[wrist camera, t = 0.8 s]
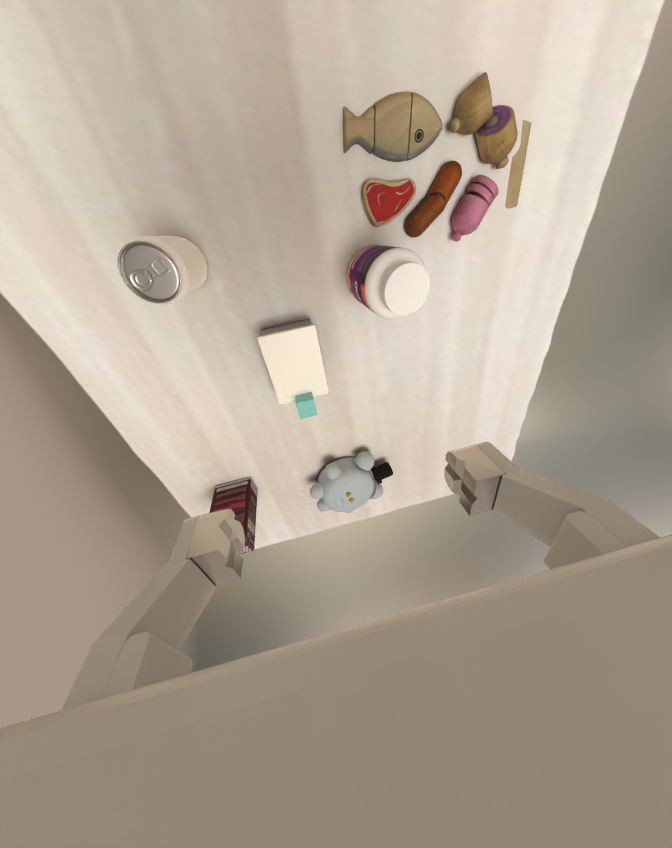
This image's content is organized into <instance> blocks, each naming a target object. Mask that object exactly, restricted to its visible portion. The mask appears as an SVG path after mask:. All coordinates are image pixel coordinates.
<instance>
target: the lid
mask: <svg viewBox="0 0 672 848" xmlns="http://www.w3.org/2000/svg"><path fill="white" fill-rule="evenodd" d="M257 339H258V342H259V345H260V348H261V351H262V354H263V357H264V360H265V363H266V366H267V368H268V371H269V374H270V377H271V380H272V383H273V386H274V389H275V392H276V395H277V397H278V400H279V403H280V404H285V403H289V402H293V401H295V402H296V406H297V409H298V413H299V416H300V419H302V418H307V417H311V416H315V415H317V411H316V407H315V403H314V399H313V397H314V396H318V395H322V394H327V393H329V391H328V386H327V381H326V376H325V371H324V366H323V362H322V357H321V352H320V347H319V342H318V337H317V332H316V327H315V324H312V325H307V326H303V327H298V328H294V329H290V330H285V331H281V332H276V333H272V334H267V335H263V336H258V337H257Z"/></svg>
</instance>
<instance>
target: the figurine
mask: <svg viewBox="0 0 672 848" xmlns="http://www.w3.org/2000/svg"><path fill="white" fill-rule="evenodd" d="M369 470H371V471H372V474H373V476H374V478H375V480H376V481H377V482H376V481H374V480H373V477H372V475H371V473H370V471H369ZM391 475H393V471H392V469H391V467H390V465H389V463H387V462H386V463H384V464H381V465H379V466H377V467H375V466H374V457H373V455H372V454H371V453H369V452H366V451H363V452H360V453H359V454H358V455H357V456H356V458H352V457H348V458H342V459H339V460H336V461H334V462H332V463H329V464H328V465H327V466H326V467H325V468H324V469H323V471H322V472H321V474H320V476H319V477H317V478H316V479H317V481H318V484H315V485H314V486H312V487H311V488H310V494H311V496H312V498H314V499H318V498H321V499H320V500H319V501H318V502H317V507H318V509H319V510H320V511H322V512H324V511H328V510H330V509H332V510H334V511H338V512H346V513H350V512H352V511H353V510H354V509H356V508H358V507H360V506H362V505H363V504H364V503H366V502H367V501H368V500H369V498H370V499H377V498H379V497H380V496H381V495H382V493H383V488H382V486H381V484H380V483H382V479H385V478H387V477H389V476H391Z"/></svg>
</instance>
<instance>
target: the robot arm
mask: <svg viewBox="0 0 672 848" xmlns="http://www.w3.org/2000/svg"><path fill="white" fill-rule="evenodd" d="M446 461H447V462H448V465H447V466H446V467H445V474H444V475H445V479H446V482H447V484H448V486H449V488H450V489H451V491H452V492H453V493H455V494H458V495H460V498H459V502H460V503H461V504H462V506H463V507H464V509H465V510H466V511H467V513H468V514H469V516H472V515H476V514H481V513H485V512H489V511H493V512H494V513H495V514H497V515H499V516H500V517H502V518H503V519H505V520H507V521H508V522H510V523H512V524H514V525H515V526H517V527H518V528H520V529H522V530H523V531H525V532H527V533H528V534H530V535H532V536H533V537H535V538H537V539H538V540H540V541H542V542H543V543H545V544H547V545H548V546H550V547H549V549H548V551H547V553H546V555H545V557H544V563H545V564H546V565H547V566H548V567H549V569H550V570H546V571H543V572H539V573H536V574H532V575H529V576H526V577H522V578H519V579H515V580H512V581H508V582H505V583H501V584H498V585H494V586H491V587H487V588H484V589H481V590H477V591H474V592H470V593H467V594H463V595H460V596H456V597H453V598H449V599H446V600H442V601H439V602H435V603H432V604H428V605H425V606H421V607H418V608H415V609H411V610H408V611H404V612H401V613H398V614H394V615H390V616H387V617H383V618H380V619H376V620H373V621H370V622H366V623H363V624H359V625H356V626H352V627H349V628H345V629H342V630H339V631H335V632H332V633H328V634H324V635H321V636H318V637H314V638H311V639H308V640H304V641H301V642H297V643H293V644H290V645H287V646H283V647H279V648H276V649H272V650H269V651H266V652H263V653H259V654H255V655H252V656H248V657H245V658H241V659H238V660H235V661H231V662H227V663H224V664H221V665H217V666H214V667H210V668H207V669H203V670H200V671H196V672H193V673H191V669H192V663H193V662H192V661H191V659H190V658H188V657H187V656H185V655H184V654H182V653H181V652H179V650H180V648H181V646H182V645H183V643H184V641H185V640H186V638H187V636H188V635H189V633H190V631H191V630H192V628H193V626H194V624H195V623H196V621H197V619H198V618H199V616H200V614H201V612H202V611H203V609H204V607H205V606H206V604H207V602H208V600H209V599H210V597H211V596H212V594H213V592H214V591H215V589H216V586H217V585H221V584H224V583H227V582H230V581H234V580H237V579H240V578H241V571H242V563H243V559H242V558H241V556H240V555H239V554H240V553H241V551H242V550H243V549H244V545H245V535H244V530H243V527H242V525H241V523H240V522H239V521H237V520H234V518H235V514H234V512H233V511H232V509H225V510H221V511H216V512H212V513H208V514H203V515H200V516H196V517H192V518H187V519H186V520H185V521H184V522H183V524H182V527H181V530H180V533H179V536H178V538H177V541H176V544H175V547H174V550H173V552H172V555H171V558H170V561H169V564H167V565H164V566H163V567H162V568H161V569H160V570H159V571H158V572H157V574H156V575H155V576H154V577H153V578H152V579H151V580H150V581H149V582H148V584H147V585H146V586H145V587H144V588H143V589H142V590H141V591H140V593H139V594H138V595H137V596H136V597H135V598H134V599H133V600H132V601H131V602H130V604H129V605H128V606H127V607H126V608H125V609H124V610H123V611H122V612H121V614H120V615H119V616H118V617H117V618H116V619H115V620H114V621H113V622H112V623H111V625H110V626H109V627H108V628H107V629H106V630H105V631H104V632H103V633H102V635H101V636H100V637H99V638H98V639H97V640H96V641H95V642H94V644H92V647H91V649H90V651H89V653H88V655H87V657H86V659H85V661H84V664H83V666H82V668H81V670H80V672H79V674H78V676H77V678H76V681H75V682H74V685H73V687H72V689H71V691H70V693H69V695H68V697H67V699H66V701H65V704H64V706H63V708H62V710H61V711H58V712H54V713H51V714H48V715H44V716H41V717H37V718H34V719H30V720H27V721H23V722H20V723H17V724H13V725H9V726H6V727H2V728H0V848H672V534H671V535H668V536H664V537H661V538H660V537H659V536H657V535H656V534H655V533H653V532H652V531H651V530H649V529H648V528H647V527H645V526H644V525H643V524H641V523H640V522H639V521H637V520H636V519H635V518H633V517H632V516H631V515H629V514H628V513H627V512H626V511H624V510H623V509H622V508H620V507H619V506H618V505H616V504H615V503H614V502H612V501H610V500H607V499H605V498H602V497H599V496H596V495H594V494H591V493H588V492H585V491H582V490H580V489H577V488H574V487H571V486H569V485H566V484H563V483H560V482H558V481H555V480H552V479H550V478H546V477H544V476H541V475H538V474H536V473H533V472H530V471H527V470H520V469H519V468H518V467H516V466H515V465H514V464H513V463H512V462H511V461H510V460H509V459H508V458H506V457H505V456H504V455H503V454H502V453H501V452H500V451H499V450H498V449H496V448H495V447H494V446H493V445H492V444H491V443H489V442H483V443H479V444H476V445H473V446H468V447H464V448H460V449H457V450H453V451H449V452H448V453H447V454H446Z"/></svg>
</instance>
